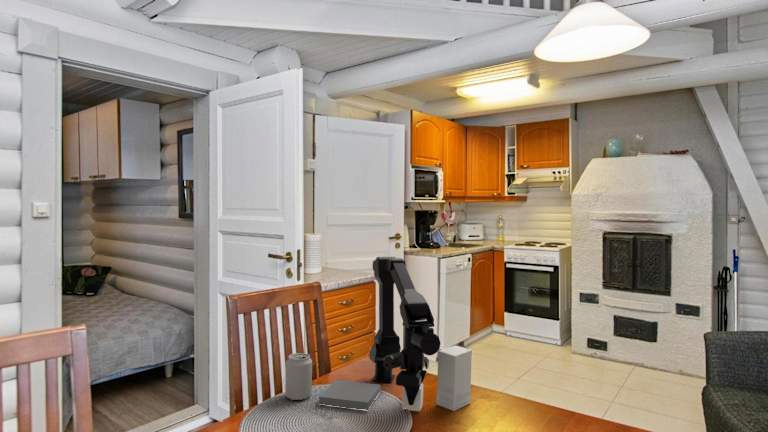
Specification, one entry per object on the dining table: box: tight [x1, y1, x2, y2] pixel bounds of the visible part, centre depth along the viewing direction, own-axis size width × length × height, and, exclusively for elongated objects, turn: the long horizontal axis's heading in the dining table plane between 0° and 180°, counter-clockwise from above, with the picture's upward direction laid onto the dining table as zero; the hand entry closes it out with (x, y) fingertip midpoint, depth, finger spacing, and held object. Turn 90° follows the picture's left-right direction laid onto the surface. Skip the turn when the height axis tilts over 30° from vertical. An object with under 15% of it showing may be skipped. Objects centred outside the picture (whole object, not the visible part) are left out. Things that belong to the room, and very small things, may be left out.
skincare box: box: [436, 345, 473, 412], centre depth 131 cm, size 8×7×16 cm
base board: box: [318, 379, 382, 410], centre depth 133 cm, size 14×14×2 cm
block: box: [401, 382, 424, 412], centre depth 129 cm, size 5×5×6 cm
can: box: [284, 352, 313, 401], centre depth 134 cm, size 8×8×12 cm
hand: (412, 401), depth 129 cm, fingers closed on block, 5 cm apart
